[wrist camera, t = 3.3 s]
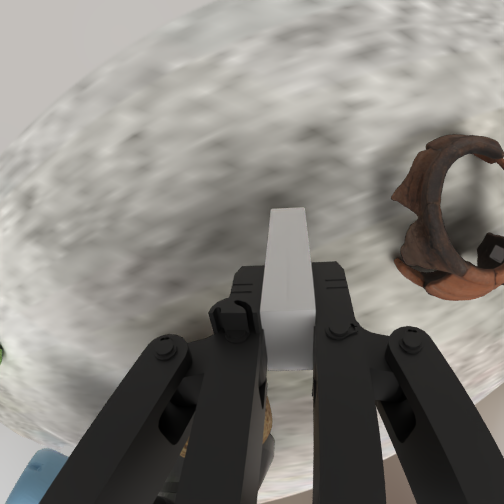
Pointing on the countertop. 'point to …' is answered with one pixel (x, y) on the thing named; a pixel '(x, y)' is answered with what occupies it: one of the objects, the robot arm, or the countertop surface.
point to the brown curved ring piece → (432, 227)
